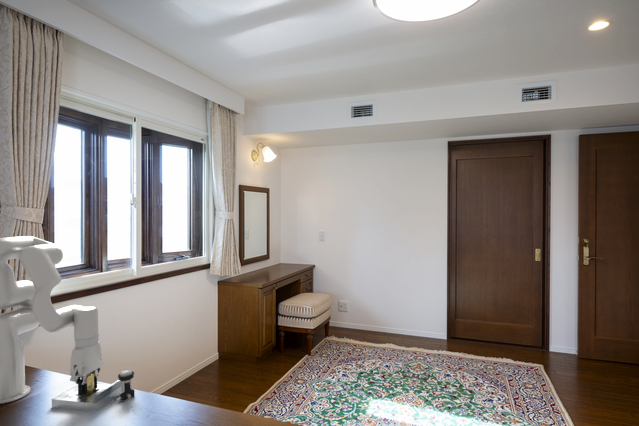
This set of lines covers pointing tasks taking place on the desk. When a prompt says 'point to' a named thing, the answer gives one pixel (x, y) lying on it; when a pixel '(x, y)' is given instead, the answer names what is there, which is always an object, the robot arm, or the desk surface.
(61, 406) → the jig
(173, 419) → the desk surface
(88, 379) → the gold domed cylinder
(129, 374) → the push button
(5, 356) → the robot arm
